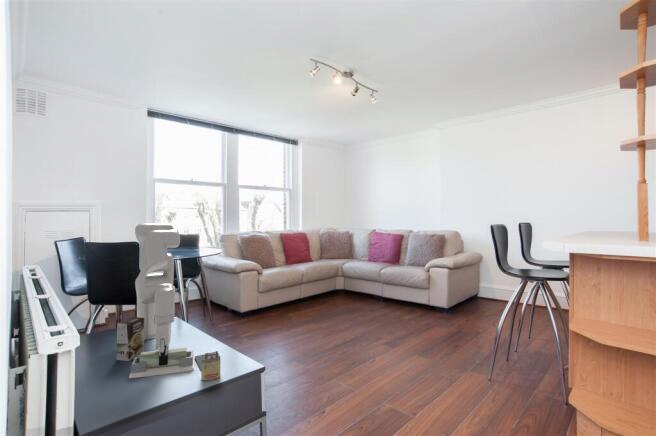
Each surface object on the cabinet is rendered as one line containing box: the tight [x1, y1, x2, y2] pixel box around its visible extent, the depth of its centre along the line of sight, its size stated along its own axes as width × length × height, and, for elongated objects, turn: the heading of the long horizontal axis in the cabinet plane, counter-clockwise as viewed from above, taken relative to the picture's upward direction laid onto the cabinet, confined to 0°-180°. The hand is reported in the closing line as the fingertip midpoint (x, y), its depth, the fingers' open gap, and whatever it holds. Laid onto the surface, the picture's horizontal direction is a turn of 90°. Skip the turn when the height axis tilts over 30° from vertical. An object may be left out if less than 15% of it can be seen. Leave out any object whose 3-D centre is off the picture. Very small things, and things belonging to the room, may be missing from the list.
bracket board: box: [128, 350, 195, 379], centre depth 139 cm, size 11×23×4 cm, turn 110°
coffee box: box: [116, 316, 145, 362], centre depth 150 cm, size 9×6×16 cm
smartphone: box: [194, 353, 205, 372], centre depth 145 cm, size 7×1×15 cm
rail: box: [139, 347, 188, 368], centre depth 139 cm, size 4×17×5 cm, turn 110°
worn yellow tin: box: [200, 350, 222, 381], centre depth 132 cm, size 7×4×10 cm, turn 119°
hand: (163, 362), depth 139 cm, fingers closed on rail, 3 cm apart
